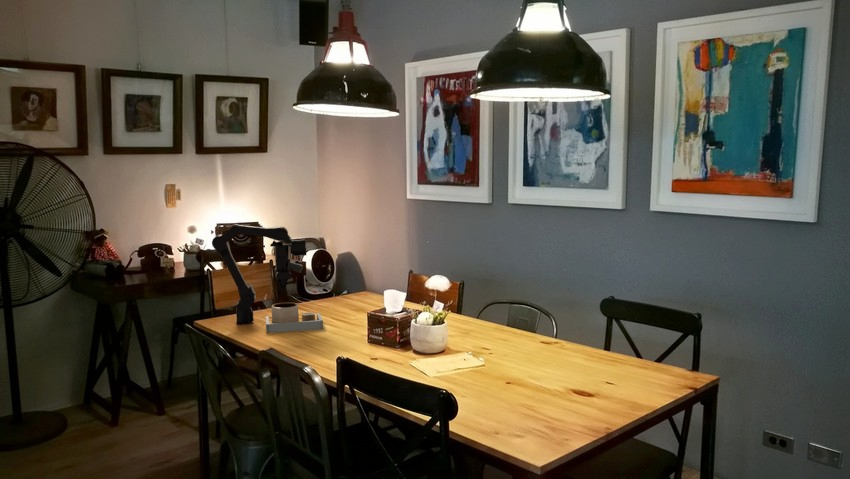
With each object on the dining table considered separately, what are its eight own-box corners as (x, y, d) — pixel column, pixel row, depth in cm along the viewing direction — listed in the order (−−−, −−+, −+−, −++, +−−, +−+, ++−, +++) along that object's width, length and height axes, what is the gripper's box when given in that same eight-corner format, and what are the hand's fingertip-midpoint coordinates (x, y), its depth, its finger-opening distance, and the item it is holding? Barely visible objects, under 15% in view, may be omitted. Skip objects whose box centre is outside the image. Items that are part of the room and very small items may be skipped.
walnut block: (302, 327, 278) (302, 315, 278) (302, 324, 283) (301, 312, 283) (315, 326, 280) (314, 314, 279) (314, 323, 284) (313, 312, 284)
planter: (267, 330, 274) (266, 307, 273) (280, 324, 284) (279, 301, 283) (291, 332, 271) (290, 308, 270) (303, 325, 281) (303, 303, 280)
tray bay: (266, 333, 269) (266, 324, 269) (265, 324, 283) (265, 316, 283) (323, 329, 275) (322, 320, 274) (319, 321, 288) (319, 313, 288)
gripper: (302, 258, 280) (304, 295, 282) (299, 252, 298) (301, 287, 300) (275, 259, 277) (276, 297, 279) (274, 253, 295) (275, 289, 297)
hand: (283, 292), depth 289 cm, fingers closed
